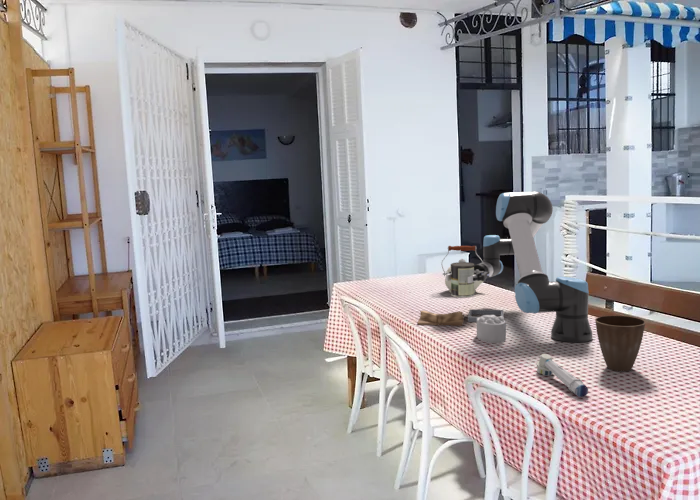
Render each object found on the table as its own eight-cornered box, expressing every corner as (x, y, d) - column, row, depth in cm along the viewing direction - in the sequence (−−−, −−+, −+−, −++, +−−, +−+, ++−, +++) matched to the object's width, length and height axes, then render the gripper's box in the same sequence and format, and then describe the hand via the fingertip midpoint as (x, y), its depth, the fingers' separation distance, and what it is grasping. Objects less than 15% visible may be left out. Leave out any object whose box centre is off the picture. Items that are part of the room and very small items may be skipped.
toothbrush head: (574, 385, 181) (534, 350, 204) (572, 406, 183) (532, 368, 206) (591, 383, 182) (549, 348, 205) (589, 404, 184) (547, 367, 207)
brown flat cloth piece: (422, 315, 286) (421, 307, 285) (464, 316, 281) (464, 307, 281) (417, 324, 270) (417, 315, 269) (462, 325, 265) (462, 316, 265)
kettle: (440, 295, 330) (439, 248, 326) (443, 288, 347) (442, 243, 344) (489, 295, 324) (488, 247, 320) (489, 288, 341) (489, 243, 338)
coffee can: (447, 296, 277) (446, 265, 275) (456, 292, 285) (455, 261, 283) (469, 298, 271) (469, 266, 269) (477, 294, 280) (477, 262, 278)
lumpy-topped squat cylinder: (499, 333, 252) (499, 312, 251) (510, 342, 239) (510, 320, 238) (474, 334, 251) (474, 313, 250) (483, 343, 238) (483, 321, 237)
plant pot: (586, 369, 206) (587, 321, 204) (605, 358, 216) (606, 312, 214) (632, 378, 195) (634, 328, 193) (651, 367, 206) (652, 319, 203)
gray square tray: (503, 322, 269) (503, 318, 268) (467, 321, 272) (467, 317, 272) (503, 314, 283) (503, 310, 283) (469, 313, 287) (469, 309, 286)
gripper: (504, 281, 284) (480, 290, 267) (460, 277, 298) (435, 285, 281) (504, 265, 283) (480, 272, 266) (460, 261, 297) (435, 268, 280)
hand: (457, 279), depth 274 cm, fingers closed on coffee can, 10 cm apart
